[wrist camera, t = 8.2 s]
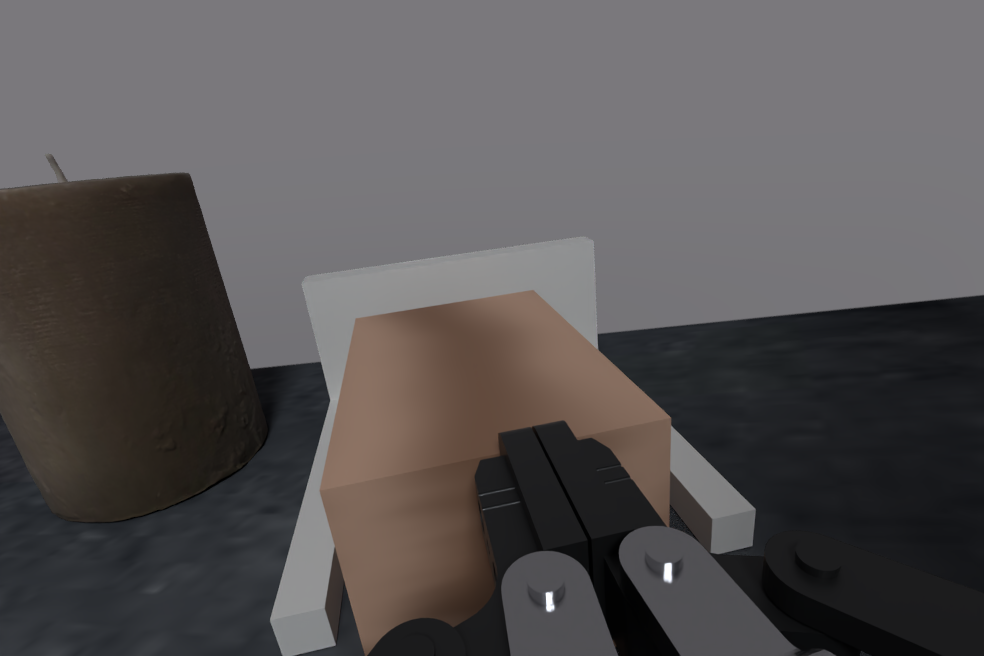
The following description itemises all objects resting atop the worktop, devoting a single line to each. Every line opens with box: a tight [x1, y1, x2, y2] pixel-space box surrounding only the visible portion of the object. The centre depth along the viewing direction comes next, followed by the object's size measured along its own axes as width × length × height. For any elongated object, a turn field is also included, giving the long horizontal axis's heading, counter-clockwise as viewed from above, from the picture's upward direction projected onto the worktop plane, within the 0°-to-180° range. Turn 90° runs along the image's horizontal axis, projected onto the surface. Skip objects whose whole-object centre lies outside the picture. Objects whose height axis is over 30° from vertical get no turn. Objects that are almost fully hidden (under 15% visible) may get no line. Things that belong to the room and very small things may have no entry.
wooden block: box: [319, 290, 671, 656], centre depth 18 cm, size 8×12×7 cm, turn 11°
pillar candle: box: [0, 154, 268, 522], centre depth 23 cm, size 10×10×15 cm
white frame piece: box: [270, 236, 756, 656], centre depth 21 cm, size 15×15×8 cm
